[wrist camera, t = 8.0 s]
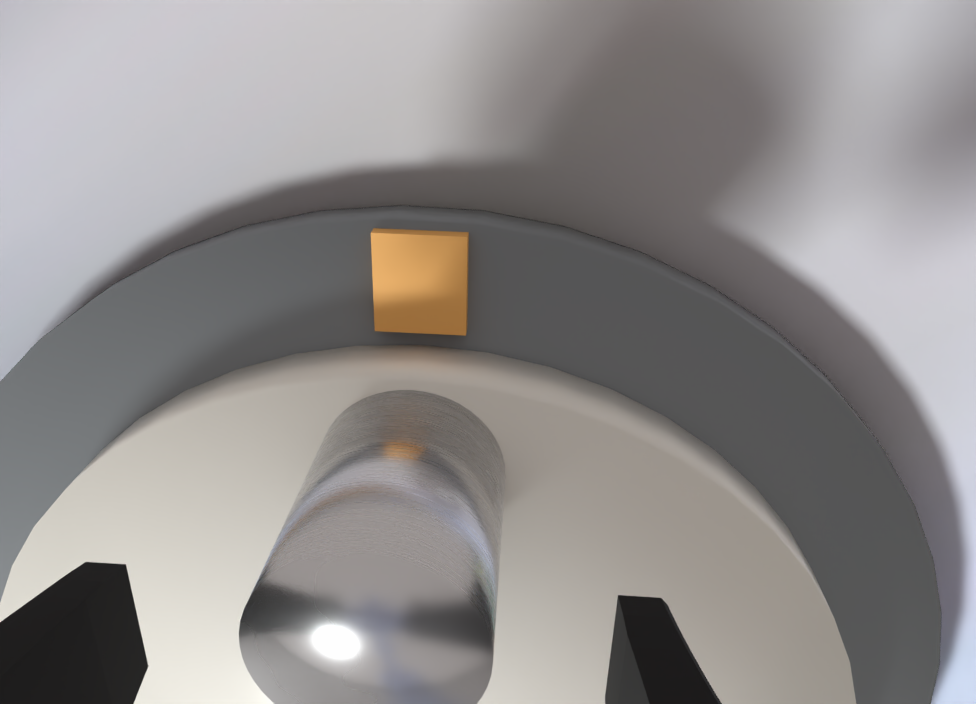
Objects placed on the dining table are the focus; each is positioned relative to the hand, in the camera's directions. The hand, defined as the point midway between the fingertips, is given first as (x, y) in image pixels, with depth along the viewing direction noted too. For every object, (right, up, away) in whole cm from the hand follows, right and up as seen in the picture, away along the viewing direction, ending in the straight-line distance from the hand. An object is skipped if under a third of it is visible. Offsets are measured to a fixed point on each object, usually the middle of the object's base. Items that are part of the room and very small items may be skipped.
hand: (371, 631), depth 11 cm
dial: (0, -5, +8) cm, 10 cm away
